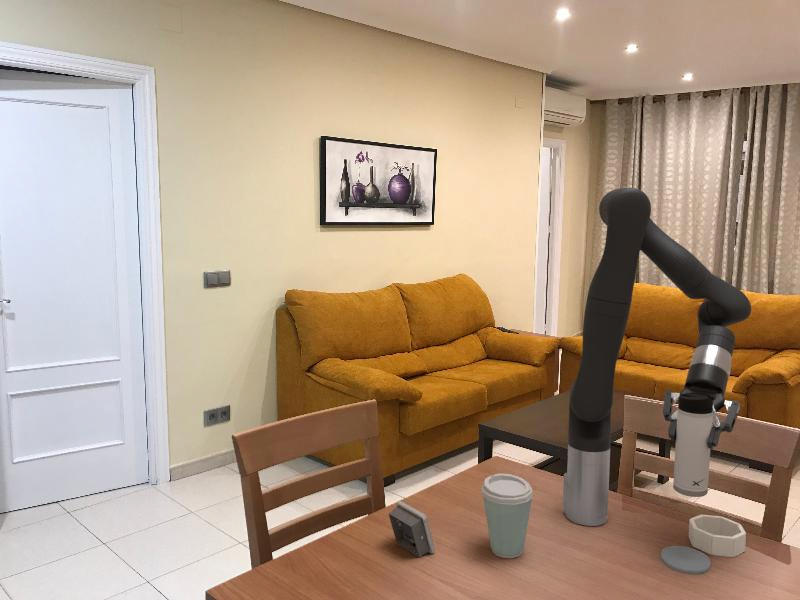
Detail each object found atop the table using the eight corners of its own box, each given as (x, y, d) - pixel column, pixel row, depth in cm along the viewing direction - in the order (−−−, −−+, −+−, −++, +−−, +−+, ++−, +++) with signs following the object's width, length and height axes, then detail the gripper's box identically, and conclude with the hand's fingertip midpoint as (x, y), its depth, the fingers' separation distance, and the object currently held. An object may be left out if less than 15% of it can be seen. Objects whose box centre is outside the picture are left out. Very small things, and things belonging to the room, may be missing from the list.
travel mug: (704, 501, 122) (710, 399, 120) (668, 491, 127) (674, 393, 124) (713, 490, 127) (719, 392, 124) (678, 481, 131) (684, 386, 129)
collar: (679, 540, 137) (680, 522, 137) (708, 528, 142) (709, 511, 142) (724, 561, 129) (725, 542, 128) (753, 547, 134) (754, 529, 133)
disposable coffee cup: (543, 553, 132) (545, 484, 130) (506, 571, 125) (508, 497, 123) (505, 533, 140) (506, 468, 138) (469, 549, 133) (470, 480, 132)
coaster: (651, 557, 130) (651, 553, 130) (679, 546, 135) (679, 541, 134) (691, 579, 122) (692, 574, 122) (719, 565, 127) (719, 561, 127)
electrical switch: (436, 553, 132) (433, 512, 130) (416, 564, 129) (413, 521, 127) (407, 536, 139) (404, 496, 137) (389, 545, 136) (385, 505, 134)
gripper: (669, 357, 134) (649, 426, 126) (746, 366, 125) (730, 441, 117) (674, 376, 139) (656, 444, 131) (749, 387, 130) (733, 460, 122)
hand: (691, 442), depth 124 cm, fingers closed on travel mug, 6 cm apart
